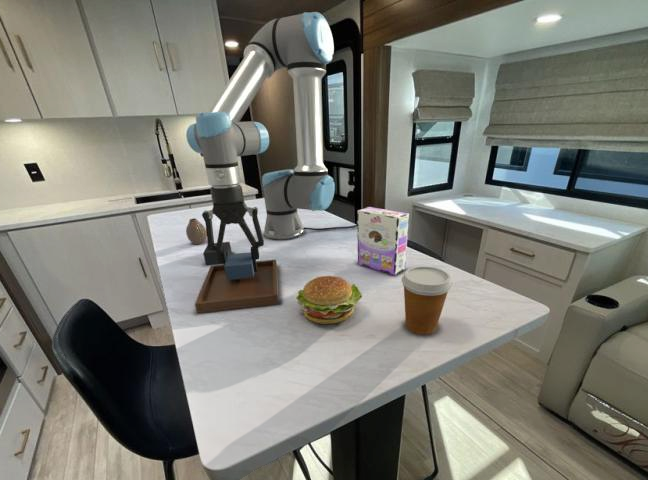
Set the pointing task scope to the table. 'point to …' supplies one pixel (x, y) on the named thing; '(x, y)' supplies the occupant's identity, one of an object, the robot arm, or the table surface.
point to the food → (328, 299)
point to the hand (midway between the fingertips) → (241, 271)
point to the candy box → (382, 239)
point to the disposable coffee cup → (424, 297)
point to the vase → (196, 232)
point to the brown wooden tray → (238, 289)
